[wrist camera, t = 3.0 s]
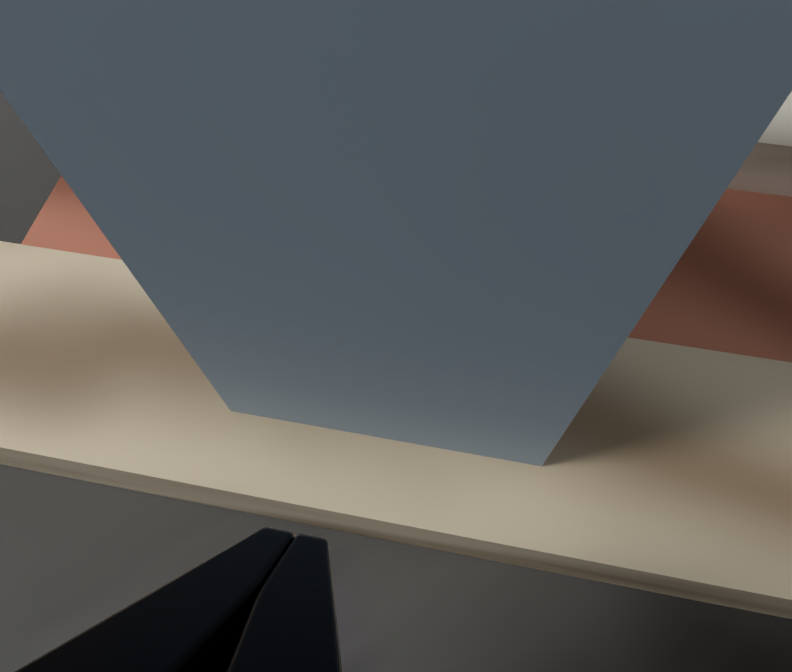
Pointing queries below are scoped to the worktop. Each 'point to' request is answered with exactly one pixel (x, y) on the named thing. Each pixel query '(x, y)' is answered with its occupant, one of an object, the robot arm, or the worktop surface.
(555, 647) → the worktop surface
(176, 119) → the slate block
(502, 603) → the worktop surface
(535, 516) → the trap board
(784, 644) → the worktop surface
